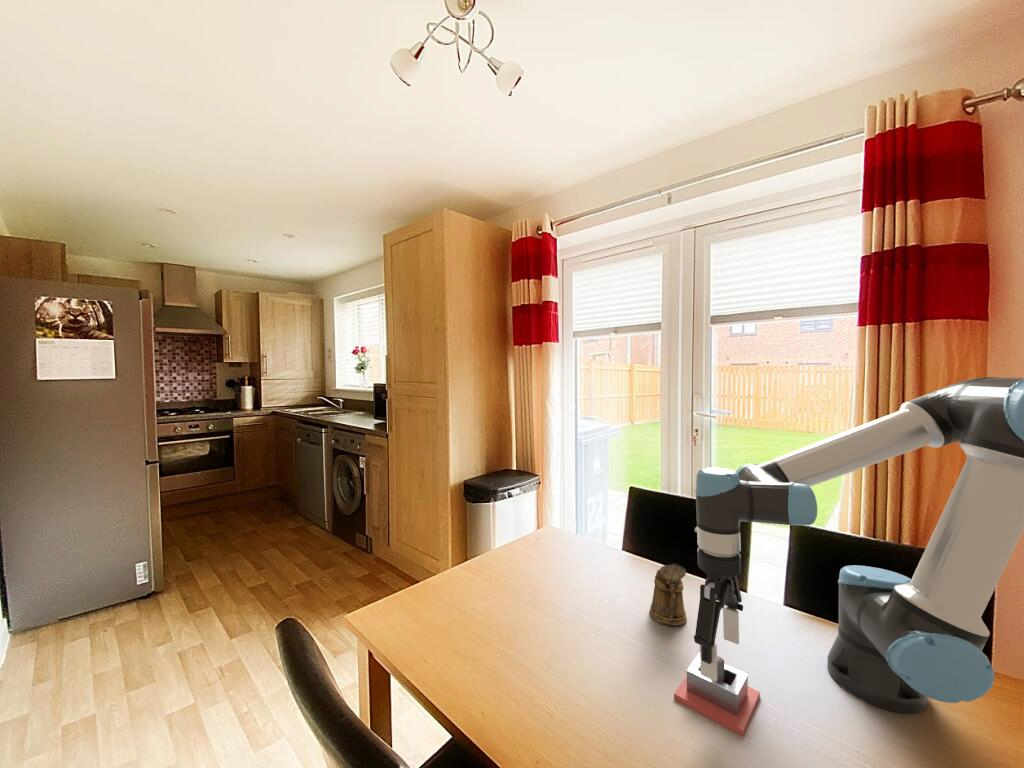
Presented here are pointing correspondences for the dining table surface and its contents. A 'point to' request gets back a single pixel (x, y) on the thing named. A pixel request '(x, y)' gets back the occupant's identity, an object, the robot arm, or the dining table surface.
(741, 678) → the link
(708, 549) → the robot arm
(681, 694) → the stand
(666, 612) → the wooden mug
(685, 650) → the dining table surface
